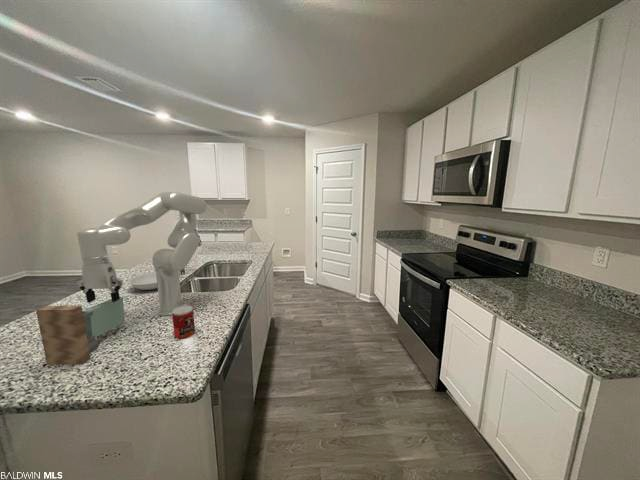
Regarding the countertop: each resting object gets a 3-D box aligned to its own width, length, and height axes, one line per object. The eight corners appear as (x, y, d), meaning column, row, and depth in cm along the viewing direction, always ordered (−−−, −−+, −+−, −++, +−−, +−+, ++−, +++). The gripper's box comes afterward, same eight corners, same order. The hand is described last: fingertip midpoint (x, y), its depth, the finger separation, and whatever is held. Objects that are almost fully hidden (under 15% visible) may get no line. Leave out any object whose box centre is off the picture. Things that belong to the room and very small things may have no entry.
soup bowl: (150, 280, 169) (149, 271, 168) (182, 282, 166) (182, 272, 165) (117, 293, 146) (116, 283, 145) (154, 296, 143) (153, 285, 142)
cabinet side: (106, 346, 95) (99, 297, 91) (82, 364, 85) (73, 309, 82) (74, 347, 95) (66, 297, 91) (47, 364, 85) (35, 309, 81)
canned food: (181, 341, 99) (178, 315, 97) (170, 335, 103) (167, 310, 101) (199, 332, 105) (197, 308, 104) (188, 327, 110) (186, 303, 108)
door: (127, 321, 110) (125, 296, 109) (82, 346, 89) (80, 316, 88) (115, 321, 110) (113, 296, 108) (68, 346, 89) (65, 316, 88)
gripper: (125, 257, 101) (132, 296, 104) (82, 257, 100) (90, 297, 104) (110, 262, 93) (118, 304, 97) (63, 263, 93) (73, 305, 96)
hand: (103, 300), depth 100 cm, fingers open, 9 cm apart
